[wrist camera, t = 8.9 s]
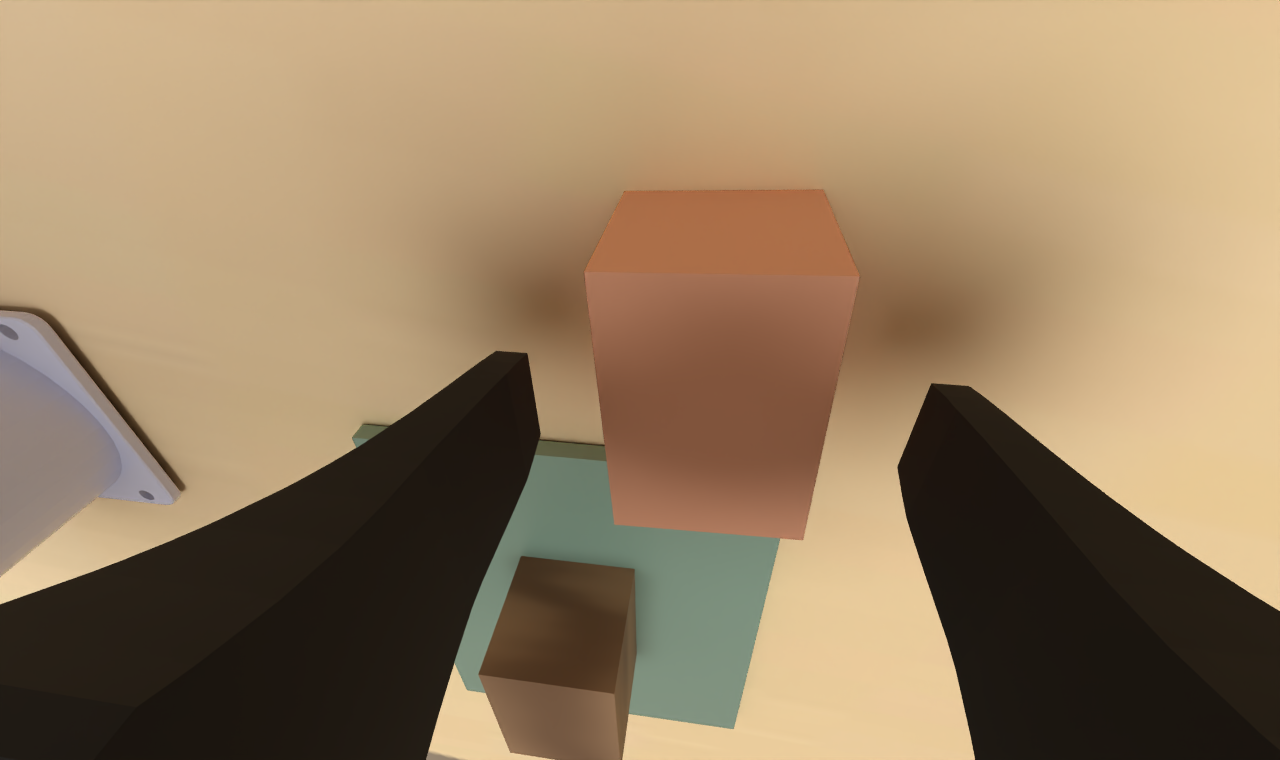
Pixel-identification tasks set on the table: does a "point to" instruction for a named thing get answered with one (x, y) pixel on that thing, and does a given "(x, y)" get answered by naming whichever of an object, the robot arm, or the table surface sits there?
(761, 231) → the terracotta brick
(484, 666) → the walnut brick
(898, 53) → the table surface
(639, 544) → the baseplate
